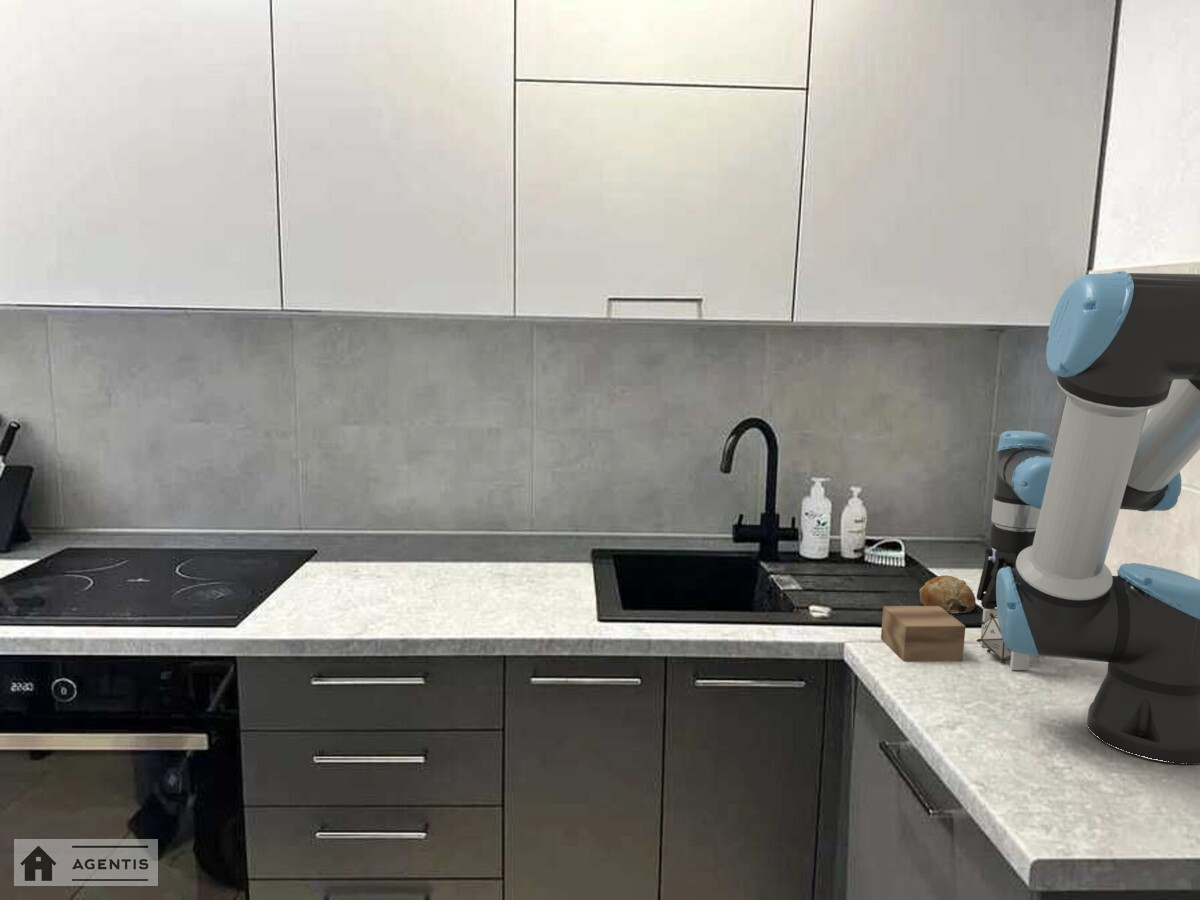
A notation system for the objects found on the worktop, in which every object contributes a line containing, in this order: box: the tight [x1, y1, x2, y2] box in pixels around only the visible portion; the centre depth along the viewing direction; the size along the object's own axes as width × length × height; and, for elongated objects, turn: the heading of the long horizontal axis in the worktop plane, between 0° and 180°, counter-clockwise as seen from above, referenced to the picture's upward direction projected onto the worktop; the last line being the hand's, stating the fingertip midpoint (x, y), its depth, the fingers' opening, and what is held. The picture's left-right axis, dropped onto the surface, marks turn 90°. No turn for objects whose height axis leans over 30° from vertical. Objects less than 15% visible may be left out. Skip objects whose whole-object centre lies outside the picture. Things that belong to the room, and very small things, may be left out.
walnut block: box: [880, 605, 966, 662], centre depth 153 cm, size 10×10×6 cm
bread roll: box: [918, 575, 977, 613], centre depth 176 cm, size 10×10×8 cm
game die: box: [976, 613, 1011, 665], centre depth 150 cm, size 9×8×10 cm
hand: (1003, 656), depth 151 cm, fingers open, 9 cm apart
